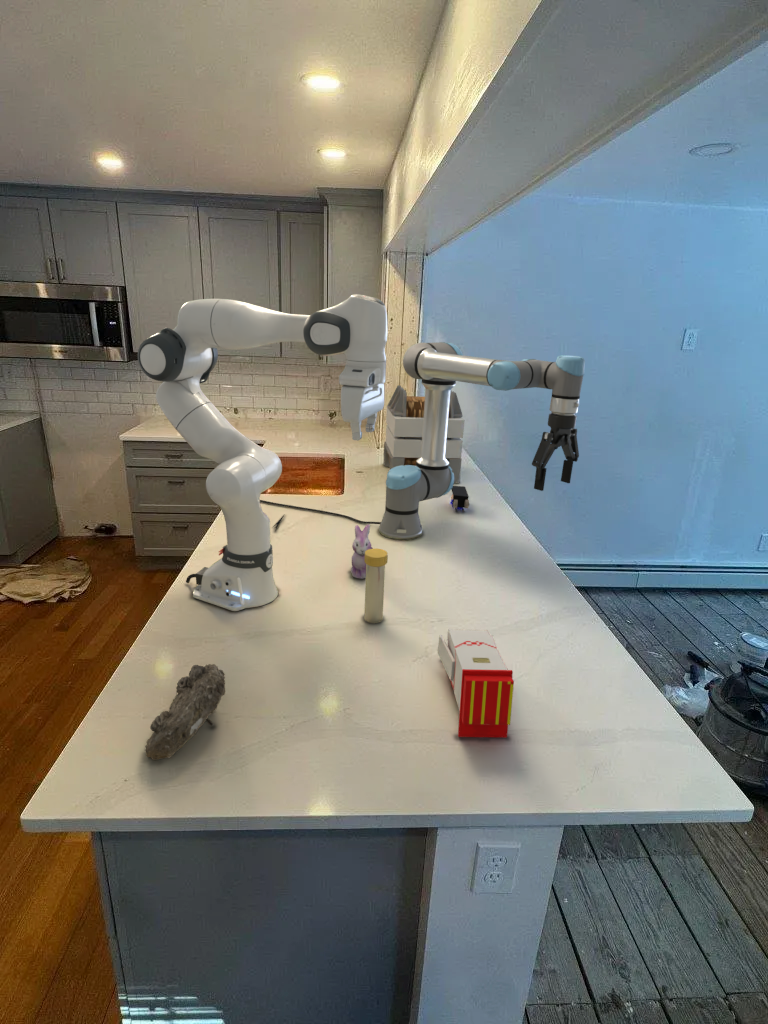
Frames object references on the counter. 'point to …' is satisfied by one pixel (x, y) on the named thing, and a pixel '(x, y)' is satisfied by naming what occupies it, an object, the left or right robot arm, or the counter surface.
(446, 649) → the toy
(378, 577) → the bottle
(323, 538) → the counter surface
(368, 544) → the figurine
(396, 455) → the slatted wooden crate
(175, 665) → the counter surface
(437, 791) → the counter surface
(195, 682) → the fossil
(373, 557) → the lid
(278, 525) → the feather
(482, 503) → the counter surface
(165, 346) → the left robot arm
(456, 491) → the figurine character
